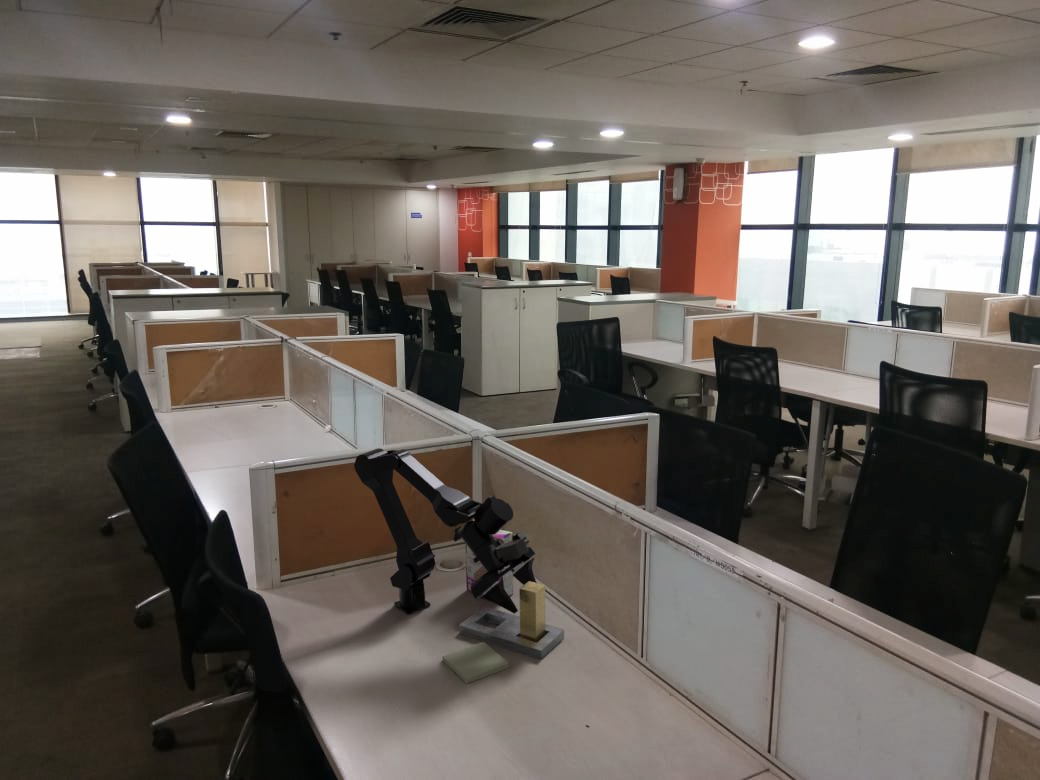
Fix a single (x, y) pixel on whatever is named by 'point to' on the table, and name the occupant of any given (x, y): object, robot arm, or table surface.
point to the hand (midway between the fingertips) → (527, 603)
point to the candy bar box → (478, 570)
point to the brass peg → (532, 611)
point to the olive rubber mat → (475, 662)
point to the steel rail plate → (509, 632)
